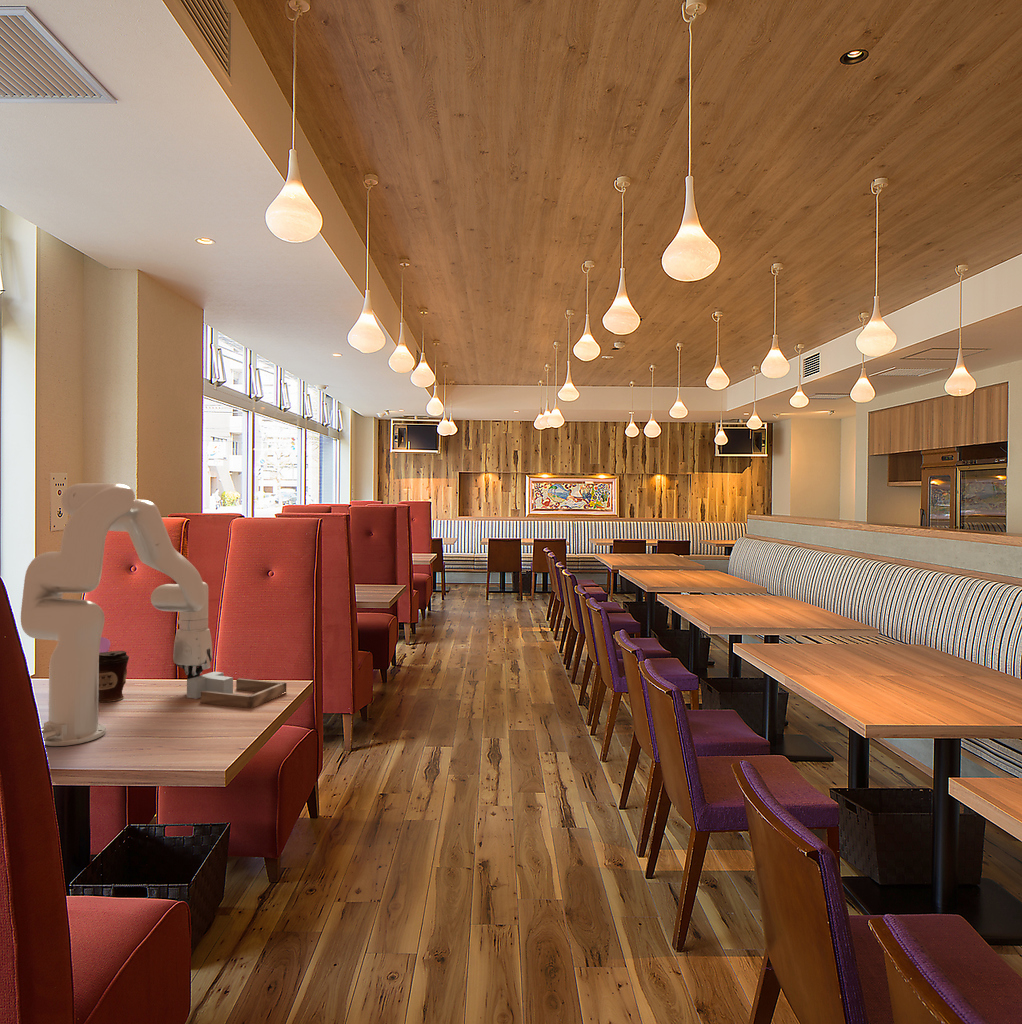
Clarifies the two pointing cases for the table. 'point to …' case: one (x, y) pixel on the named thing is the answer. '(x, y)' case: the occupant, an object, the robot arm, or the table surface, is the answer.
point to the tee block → (209, 684)
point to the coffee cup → (112, 675)
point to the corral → (264, 689)
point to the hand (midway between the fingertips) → (193, 687)
